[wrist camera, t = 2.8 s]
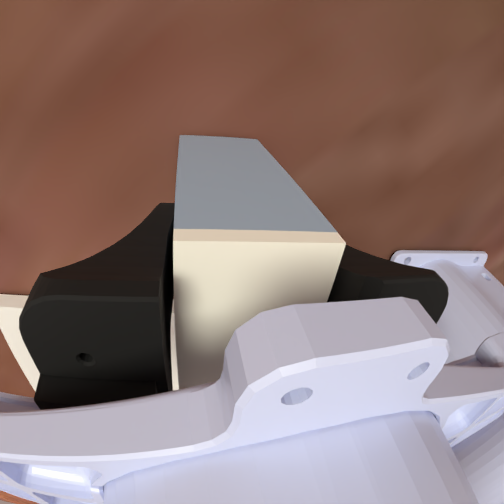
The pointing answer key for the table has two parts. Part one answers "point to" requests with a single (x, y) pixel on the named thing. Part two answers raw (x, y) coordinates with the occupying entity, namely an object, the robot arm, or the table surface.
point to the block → (240, 247)
